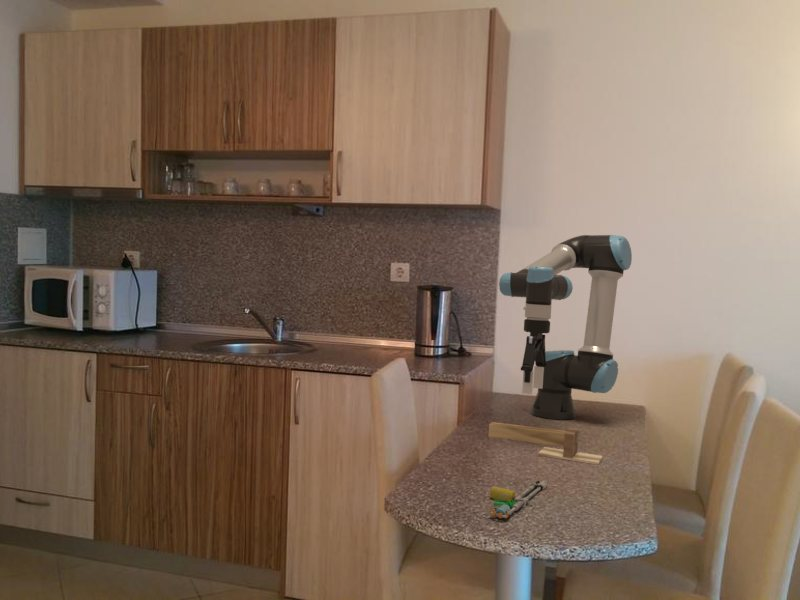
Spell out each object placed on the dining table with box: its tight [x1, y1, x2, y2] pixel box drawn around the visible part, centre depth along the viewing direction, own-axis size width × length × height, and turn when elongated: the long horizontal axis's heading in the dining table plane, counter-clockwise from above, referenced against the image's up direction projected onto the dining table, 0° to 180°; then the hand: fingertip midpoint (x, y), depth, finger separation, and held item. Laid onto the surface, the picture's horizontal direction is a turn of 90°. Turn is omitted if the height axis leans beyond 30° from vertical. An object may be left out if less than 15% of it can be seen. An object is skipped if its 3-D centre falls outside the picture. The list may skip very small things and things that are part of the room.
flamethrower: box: [488, 480, 548, 519], centre depth 147 cm, size 29×3×10 cm
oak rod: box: [488, 421, 567, 447], centre depth 204 cm, size 4×24×4 cm, turn 72°
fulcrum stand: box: [537, 427, 604, 466], centre depth 187 cm, size 8×16×7 cm, turn 66°
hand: (532, 390), depth 203 cm, fingers open, 13 cm apart
